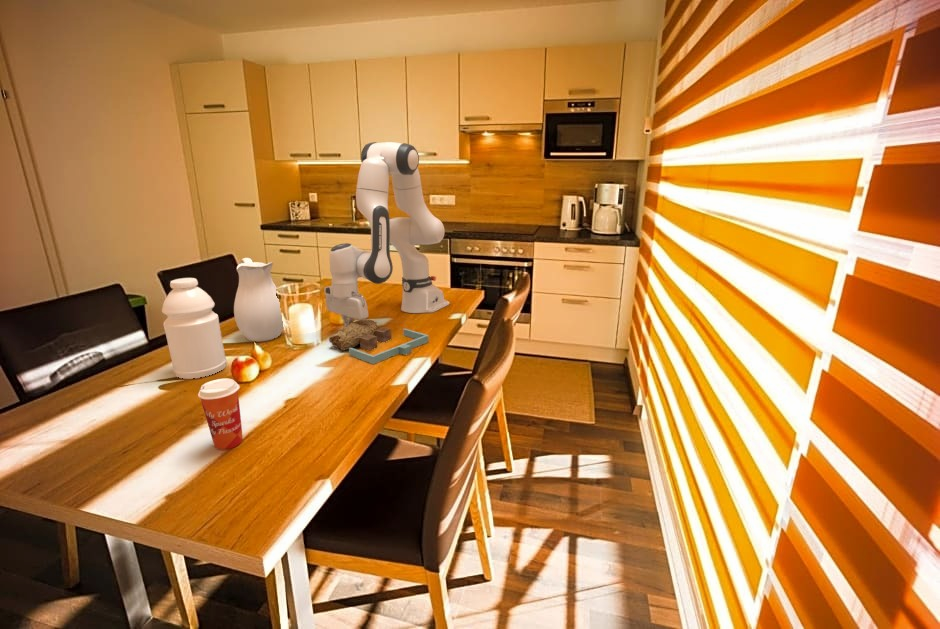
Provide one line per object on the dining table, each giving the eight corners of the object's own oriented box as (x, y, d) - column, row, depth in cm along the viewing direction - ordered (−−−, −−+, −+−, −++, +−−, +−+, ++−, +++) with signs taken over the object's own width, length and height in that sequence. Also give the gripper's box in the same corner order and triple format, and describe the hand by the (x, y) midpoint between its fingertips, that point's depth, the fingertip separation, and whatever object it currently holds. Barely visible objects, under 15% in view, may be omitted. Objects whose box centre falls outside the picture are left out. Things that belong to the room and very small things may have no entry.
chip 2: (382, 337, 165) (381, 327, 164) (391, 339, 163) (390, 328, 162) (375, 341, 161) (374, 330, 160) (384, 343, 160) (383, 332, 158)
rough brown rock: (349, 357, 151) (392, 329, 164) (340, 336, 148) (384, 309, 162) (327, 355, 159) (369, 328, 173) (318, 335, 156) (362, 310, 170)
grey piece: (405, 335, 167) (404, 328, 166) (434, 343, 158) (433, 336, 157) (349, 355, 149) (348, 348, 148) (379, 366, 140) (378, 358, 139)
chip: (369, 345, 158) (368, 334, 156) (377, 347, 155) (376, 336, 154) (360, 348, 154) (359, 337, 153) (368, 351, 152) (367, 339, 151)
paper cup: (207, 456, 96) (194, 396, 92) (210, 438, 103) (199, 381, 99) (248, 447, 99) (237, 388, 95) (249, 430, 106) (239, 374, 102)
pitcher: (294, 338, 165) (283, 261, 157) (242, 348, 156) (229, 267, 148) (278, 321, 184) (268, 252, 176) (232, 329, 175) (219, 257, 167)
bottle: (164, 374, 136) (143, 283, 128) (207, 358, 148) (190, 273, 140) (195, 383, 130) (175, 287, 122) (237, 365, 142) (221, 277, 134)
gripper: (371, 292, 159) (373, 330, 163) (336, 284, 171) (339, 319, 175) (356, 296, 154) (359, 335, 158) (321, 287, 167) (325, 323, 171)
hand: (348, 327), depth 167 cm, fingers closed
